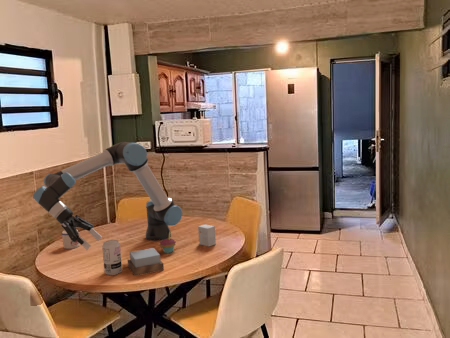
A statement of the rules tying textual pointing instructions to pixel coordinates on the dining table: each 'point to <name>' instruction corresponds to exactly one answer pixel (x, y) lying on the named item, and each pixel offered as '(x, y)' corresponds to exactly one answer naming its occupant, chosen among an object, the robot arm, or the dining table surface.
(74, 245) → the teacup with lid
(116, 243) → the supplement can
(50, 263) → the dining table surface
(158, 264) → the tower base slab
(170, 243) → the cupcake
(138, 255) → the tower top slab
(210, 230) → the small box
